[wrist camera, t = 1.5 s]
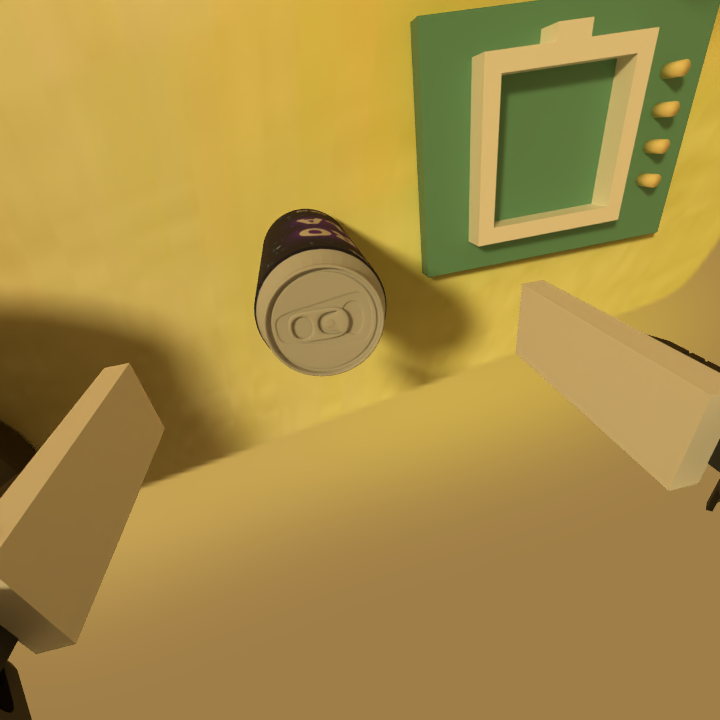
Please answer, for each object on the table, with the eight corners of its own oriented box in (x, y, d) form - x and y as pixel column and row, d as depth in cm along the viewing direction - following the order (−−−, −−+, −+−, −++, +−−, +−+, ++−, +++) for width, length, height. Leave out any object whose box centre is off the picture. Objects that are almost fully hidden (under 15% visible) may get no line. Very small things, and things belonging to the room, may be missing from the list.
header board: (422, 272, 27) (435, 284, 25) (410, 22, 20) (427, 6, 18) (643, 229, 29) (675, 236, 27) (706, -17, 22) (756, -36, 20)
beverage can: (352, 285, 27) (397, 371, 17) (273, 297, 26) (270, 395, 16) (342, 201, 24) (390, 243, 14) (254, 213, 23) (235, 266, 13)
